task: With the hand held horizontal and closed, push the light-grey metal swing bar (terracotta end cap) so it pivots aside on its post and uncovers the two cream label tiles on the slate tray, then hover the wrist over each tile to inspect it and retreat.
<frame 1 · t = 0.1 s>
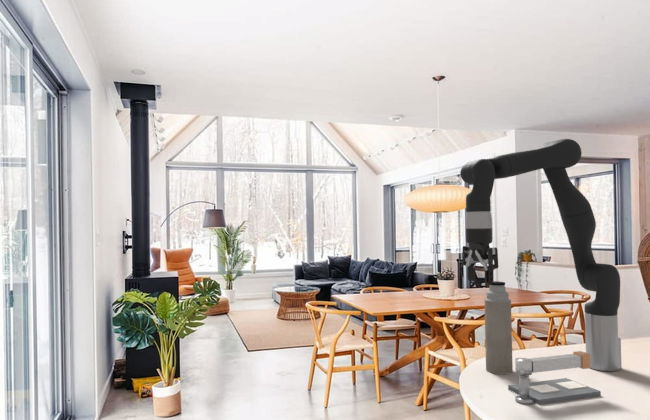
hand: (479, 282, 142), 29 cm above the table, tool pointing down, fingers open, 8 cm apart
swing arm: (552, 363, 129), point 9 cm above the table, hinge at 0.0°
label tray: (553, 392, 132), on the table
post: (524, 401, 126), on the table
thermos bottle: (499, 371, 153), on the table
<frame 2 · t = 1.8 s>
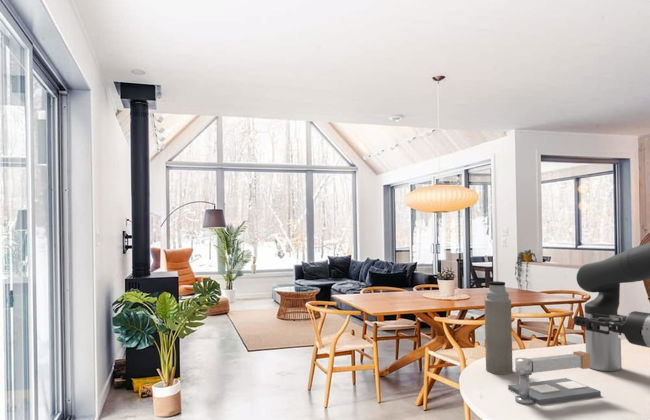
hand: (584, 319, 122), 22 cm above the table, tool horizontal, fingers open, 6 cm apart
nothing on the table moved.
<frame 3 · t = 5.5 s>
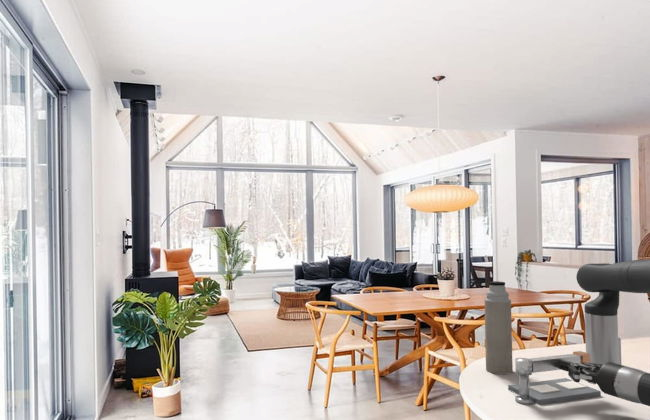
hand: (560, 364, 128), 9 cm above the table, tool horizontal, fingers closed
swing arm: (552, 363, 129), point 9 cm above the table, hinge at 0.2°, touching gripper
everything else where it was.
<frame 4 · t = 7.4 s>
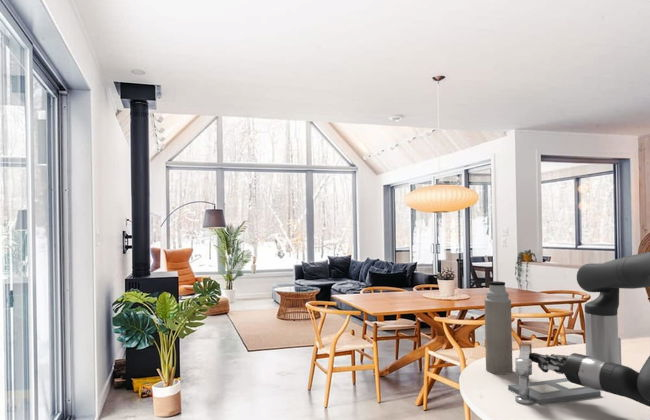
hand: (531, 356, 135), 9 cm above the table, tool horizontal, fingers closed
swing arm: (524, 357, 134), point 9 cm above the table, hinge at 48.9°
everything else where it was.
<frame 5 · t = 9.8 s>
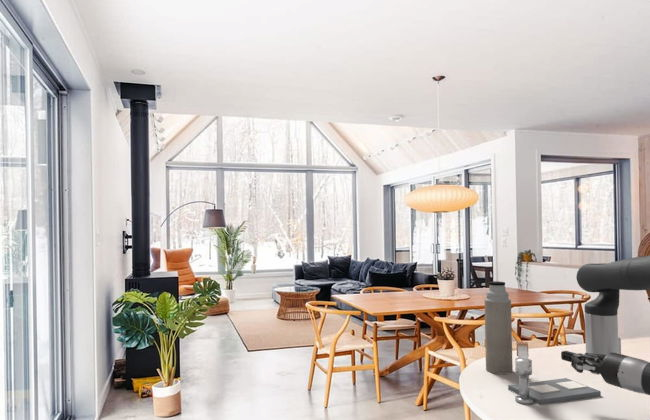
hand: (563, 354, 127), 12 cm above the table, tool horizontal, fingers closed
swing arm: (523, 357, 134), point 9 cm above the table, hinge at 51.6°
everything else where it was.
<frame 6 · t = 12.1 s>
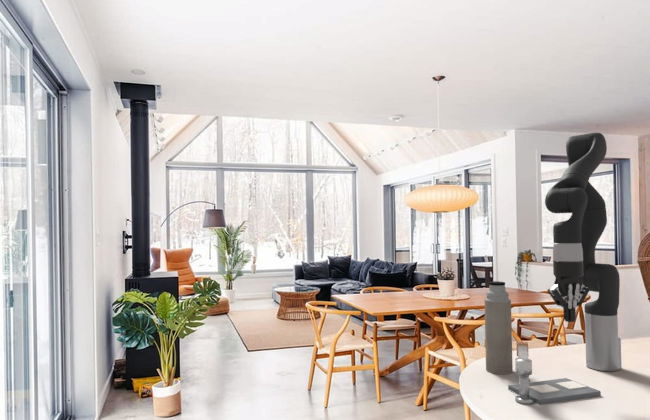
hand: (569, 321, 134), 19 cm above the table, tool pointing down, fingers closed
nothing on the table moved.
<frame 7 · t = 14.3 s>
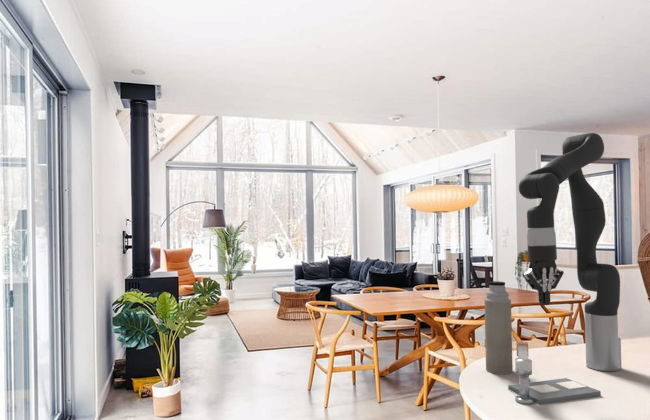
hand: (544, 304, 137), 23 cm above the table, tool pointing down, fingers closed
nothing on the table moved.
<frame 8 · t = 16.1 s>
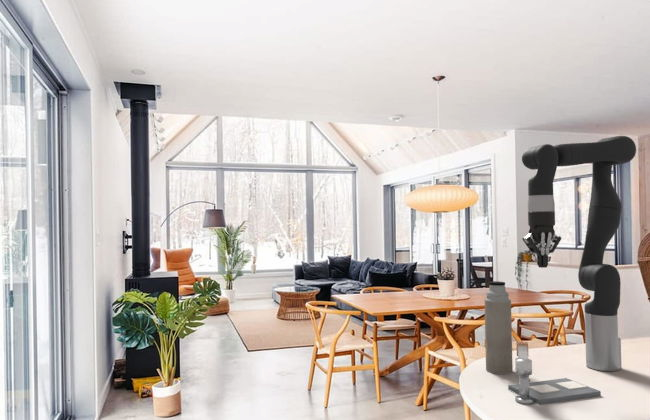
hand: (542, 267, 147), 33 cm above the table, tool pointing down, fingers closed
nothing on the table moved.
at the end: swing arm at +52° (first picture: +0°); thermos bottle tilted 0° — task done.
